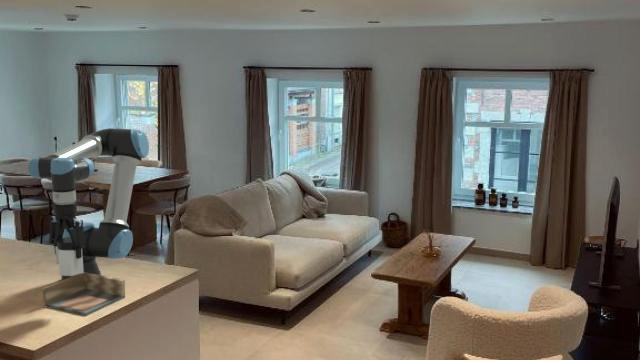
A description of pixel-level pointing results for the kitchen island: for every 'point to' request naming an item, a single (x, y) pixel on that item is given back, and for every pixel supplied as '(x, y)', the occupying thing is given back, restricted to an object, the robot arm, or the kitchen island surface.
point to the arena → (84, 293)
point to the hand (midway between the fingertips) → (68, 264)
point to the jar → (68, 258)
